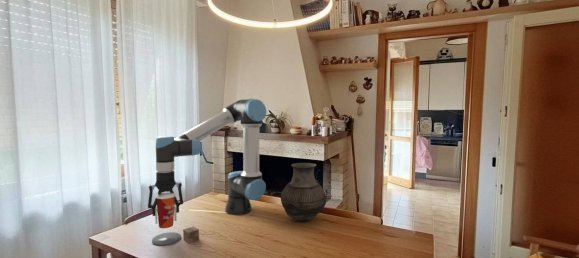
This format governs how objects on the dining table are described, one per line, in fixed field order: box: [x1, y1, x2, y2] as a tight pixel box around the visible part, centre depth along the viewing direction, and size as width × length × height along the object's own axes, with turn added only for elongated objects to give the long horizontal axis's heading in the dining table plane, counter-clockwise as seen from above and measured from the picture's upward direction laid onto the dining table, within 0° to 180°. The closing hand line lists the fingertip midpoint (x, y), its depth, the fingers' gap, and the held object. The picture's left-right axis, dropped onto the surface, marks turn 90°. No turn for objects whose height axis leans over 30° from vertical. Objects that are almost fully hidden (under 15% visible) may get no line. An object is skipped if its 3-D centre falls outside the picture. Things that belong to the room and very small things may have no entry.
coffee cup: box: [155, 192, 176, 229], centre depth 130 cm, size 8×8×15 cm
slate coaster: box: [151, 231, 182, 247], centre depth 131 cm, size 12×12×1 cm
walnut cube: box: [182, 226, 200, 244], centre depth 131 cm, size 5×5×5 cm
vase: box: [280, 162, 327, 222], centre depth 156 cm, size 25×25×30 cm
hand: (166, 221), depth 131 cm, fingers closed on coffee cup, 7 cm apart
